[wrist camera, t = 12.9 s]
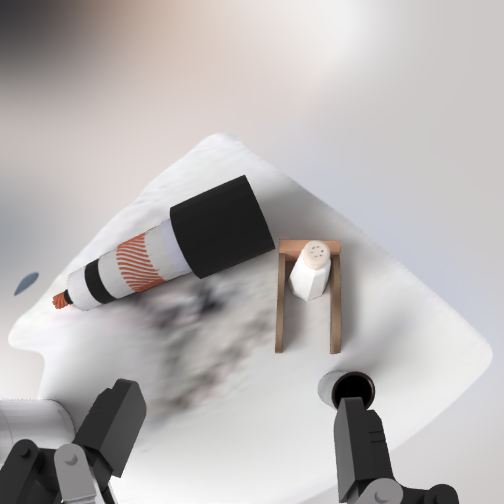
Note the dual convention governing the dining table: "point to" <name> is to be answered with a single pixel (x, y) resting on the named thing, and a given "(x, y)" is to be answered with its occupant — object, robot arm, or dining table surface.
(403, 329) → the dining table surface
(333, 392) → the planter
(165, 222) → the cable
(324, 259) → the pepper shaker
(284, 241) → the guide channel
